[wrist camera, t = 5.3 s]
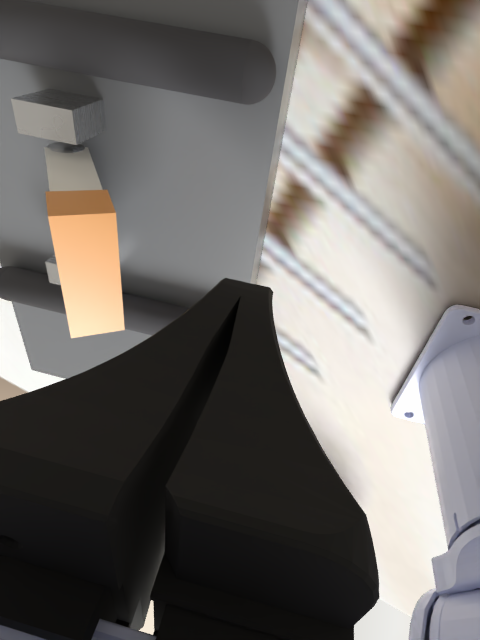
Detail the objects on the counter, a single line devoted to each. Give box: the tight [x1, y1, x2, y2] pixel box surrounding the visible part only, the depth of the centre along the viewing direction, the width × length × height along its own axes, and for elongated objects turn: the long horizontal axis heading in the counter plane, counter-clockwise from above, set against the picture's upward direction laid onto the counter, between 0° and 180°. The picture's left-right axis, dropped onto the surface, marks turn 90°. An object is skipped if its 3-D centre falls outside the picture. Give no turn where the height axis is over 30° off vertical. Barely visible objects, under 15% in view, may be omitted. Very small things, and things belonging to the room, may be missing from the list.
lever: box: [44, 142, 125, 338], centre depth 13 cm, size 2×4×6 cm
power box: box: [0, 0, 308, 379], centre depth 17 cm, size 12×20×5 cm, turn 173°
